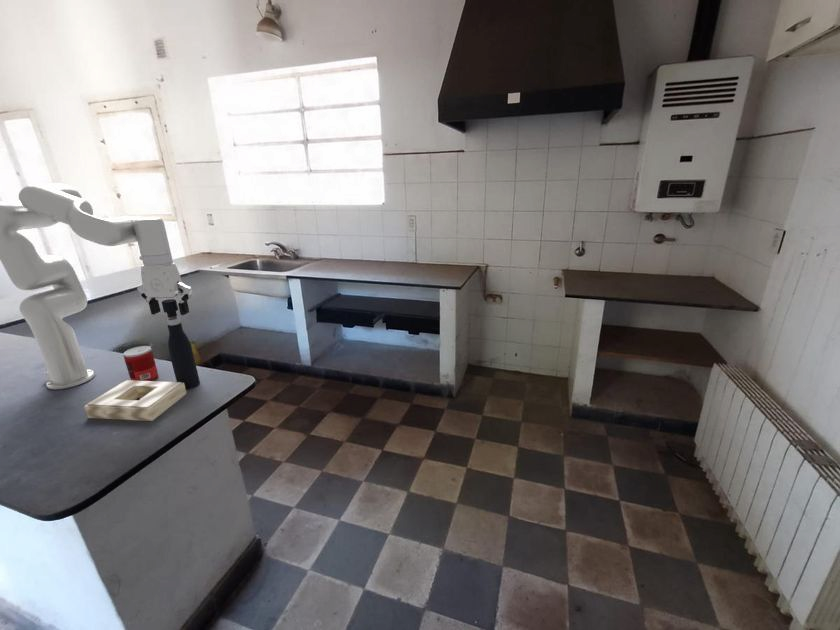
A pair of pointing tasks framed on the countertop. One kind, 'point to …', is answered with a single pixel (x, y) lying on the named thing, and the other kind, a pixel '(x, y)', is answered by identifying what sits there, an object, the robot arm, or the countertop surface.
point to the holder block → (126, 407)
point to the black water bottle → (180, 348)
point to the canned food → (141, 364)
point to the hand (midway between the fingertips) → (170, 313)
